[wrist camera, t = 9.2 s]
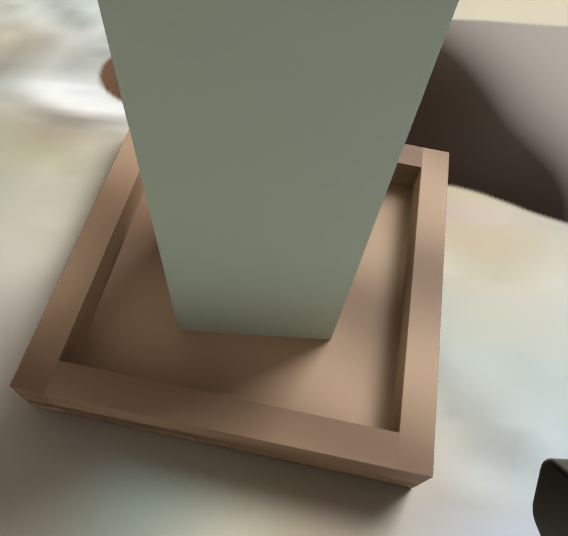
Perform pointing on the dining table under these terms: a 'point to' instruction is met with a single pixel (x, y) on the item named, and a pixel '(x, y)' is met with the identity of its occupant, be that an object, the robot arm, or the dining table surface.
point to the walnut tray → (255, 342)
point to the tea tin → (268, 144)
